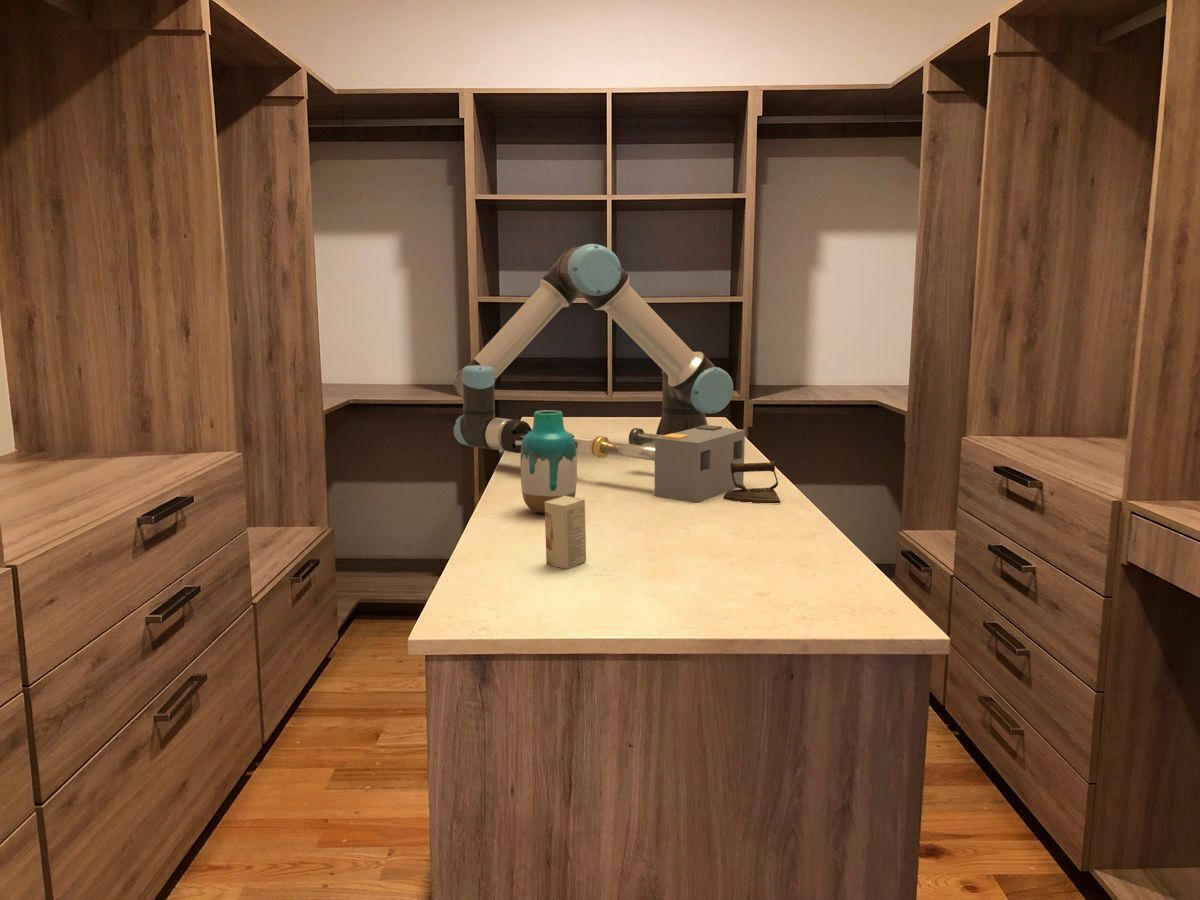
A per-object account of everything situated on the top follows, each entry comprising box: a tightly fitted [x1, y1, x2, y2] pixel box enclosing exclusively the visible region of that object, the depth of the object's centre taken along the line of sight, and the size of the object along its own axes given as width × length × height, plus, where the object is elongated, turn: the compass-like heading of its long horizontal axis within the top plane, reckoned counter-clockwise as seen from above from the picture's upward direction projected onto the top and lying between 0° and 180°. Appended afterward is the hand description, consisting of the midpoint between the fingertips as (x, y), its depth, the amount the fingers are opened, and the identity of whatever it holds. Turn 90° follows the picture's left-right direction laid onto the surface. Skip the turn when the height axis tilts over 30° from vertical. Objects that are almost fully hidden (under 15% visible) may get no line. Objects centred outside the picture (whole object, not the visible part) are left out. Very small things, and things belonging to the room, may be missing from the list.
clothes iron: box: [723, 460, 781, 504], centre depth 177 cm, size 7×11×10 cm, turn 86°
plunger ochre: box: [591, 435, 655, 462], centre depth 186 cm, size 5×20×5 cm, turn 54°
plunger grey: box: [628, 427, 663, 447], centre depth 197 cm, size 5×20×5 cm, turn 54°
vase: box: [520, 409, 578, 514], centre depth 166 cm, size 11×11×19 cm
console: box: [653, 424, 746, 504], centre depth 185 cm, size 20×10×12 cm, turn 144°
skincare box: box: [544, 496, 587, 570], centre depth 136 cm, size 5×4×10 cm
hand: (591, 446), depth 192 cm, fingers closed
